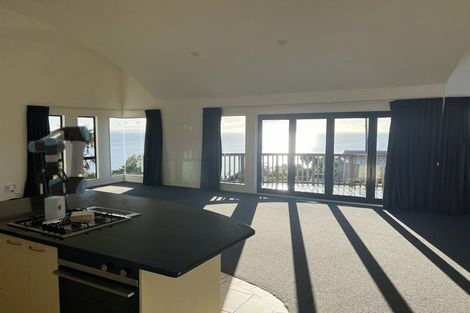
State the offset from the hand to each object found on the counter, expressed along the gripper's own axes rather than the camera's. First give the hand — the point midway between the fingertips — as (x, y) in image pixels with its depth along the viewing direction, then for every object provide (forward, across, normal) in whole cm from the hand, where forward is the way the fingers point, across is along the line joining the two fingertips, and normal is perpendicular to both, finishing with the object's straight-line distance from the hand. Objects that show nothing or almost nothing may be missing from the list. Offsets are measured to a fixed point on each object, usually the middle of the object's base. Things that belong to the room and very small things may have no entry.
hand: (53, 193), depth 224 cm
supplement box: (+18, 0, +3) cm, 18 cm away
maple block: (+18, +18, -6) cm, 27 cm away
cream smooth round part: (+18, 0, -10) cm, 20 cm away
